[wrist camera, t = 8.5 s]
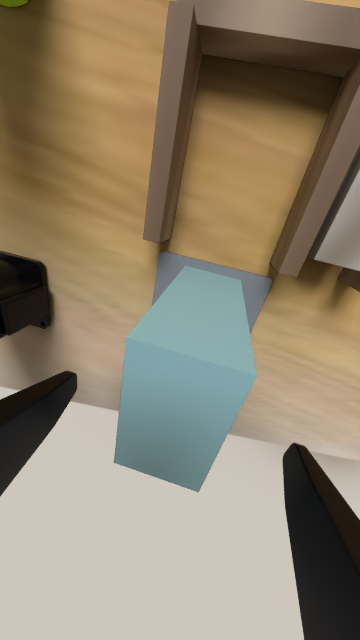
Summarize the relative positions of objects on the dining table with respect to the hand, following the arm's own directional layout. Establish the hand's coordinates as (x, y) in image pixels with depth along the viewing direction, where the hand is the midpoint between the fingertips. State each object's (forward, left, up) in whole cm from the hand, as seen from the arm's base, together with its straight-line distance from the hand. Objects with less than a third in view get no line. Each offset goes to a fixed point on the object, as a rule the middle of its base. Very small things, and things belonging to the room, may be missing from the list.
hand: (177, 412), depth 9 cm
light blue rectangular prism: (0, 0, -9) cm, 9 cm away
